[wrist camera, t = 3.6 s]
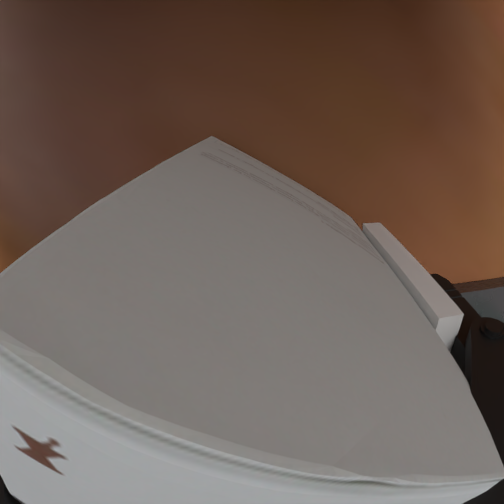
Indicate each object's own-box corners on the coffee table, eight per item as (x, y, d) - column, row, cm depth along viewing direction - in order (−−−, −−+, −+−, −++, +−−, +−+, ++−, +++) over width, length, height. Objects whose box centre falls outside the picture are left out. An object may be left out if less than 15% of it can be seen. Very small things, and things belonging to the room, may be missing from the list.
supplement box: (141, 269, 15) (9, 510, 4) (211, 130, 13) (-79, 284, 1) (270, 334, 17) (277, 585, 5) (357, 218, 14) (530, 480, 2)
